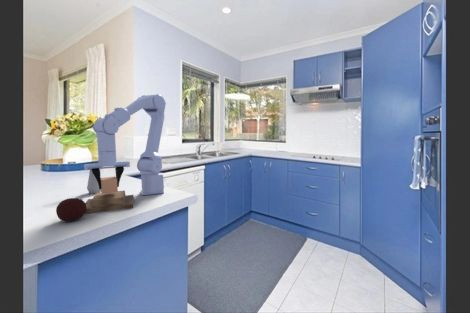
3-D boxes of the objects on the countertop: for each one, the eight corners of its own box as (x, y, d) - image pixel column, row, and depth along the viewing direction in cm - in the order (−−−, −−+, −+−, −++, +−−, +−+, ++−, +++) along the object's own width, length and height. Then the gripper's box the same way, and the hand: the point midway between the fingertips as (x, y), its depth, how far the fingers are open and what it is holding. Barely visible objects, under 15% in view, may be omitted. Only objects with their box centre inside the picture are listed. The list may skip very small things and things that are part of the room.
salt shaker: (95, 194, 97) (93, 165, 96) (84, 194, 98) (82, 165, 97) (105, 191, 103) (103, 163, 101) (94, 190, 104) (93, 163, 103)
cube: (115, 189, 87) (115, 176, 86) (117, 191, 83) (116, 178, 82) (100, 190, 84) (100, 177, 83) (102, 193, 80) (101, 180, 79)
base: (133, 198, 93) (133, 188, 92) (133, 208, 81) (132, 197, 81) (88, 202, 86) (87, 192, 86) (80, 214, 75) (80, 202, 74)
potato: (62, 217, 72) (61, 196, 71) (90, 214, 74) (88, 194, 74) (52, 226, 65) (50, 203, 64) (82, 223, 67) (81, 200, 67)
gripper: (126, 149, 89) (128, 182, 90) (83, 151, 81) (85, 187, 82) (130, 151, 83) (131, 186, 85) (83, 152, 75) (85, 192, 76)
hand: (109, 187), depth 83 cm, fingers closed on cube, 5 cm apart
